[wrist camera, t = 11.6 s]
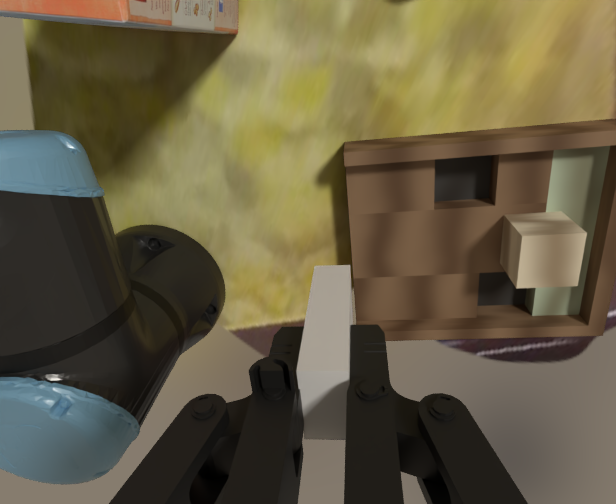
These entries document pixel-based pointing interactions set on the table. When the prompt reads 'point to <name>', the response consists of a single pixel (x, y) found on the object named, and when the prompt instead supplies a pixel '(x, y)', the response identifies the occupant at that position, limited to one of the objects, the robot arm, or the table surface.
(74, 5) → the cracker box
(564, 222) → the maple cube
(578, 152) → the box
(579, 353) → the table surface
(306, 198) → the table surface
